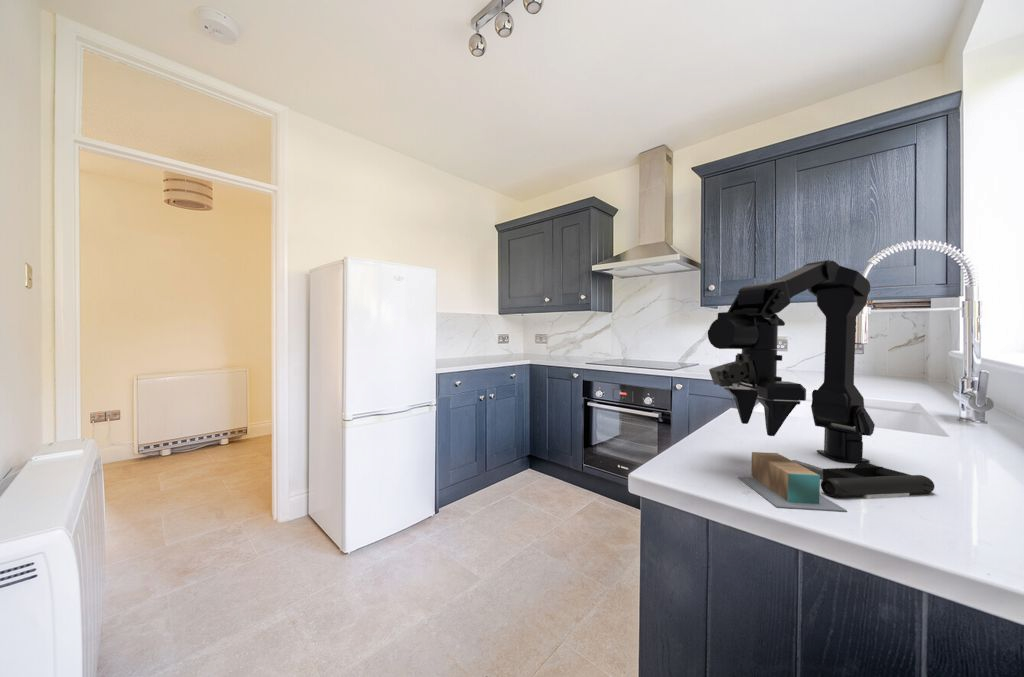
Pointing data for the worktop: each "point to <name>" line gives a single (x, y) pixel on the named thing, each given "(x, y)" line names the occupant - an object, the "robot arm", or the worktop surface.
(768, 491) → the mat
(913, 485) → the door handle
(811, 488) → the walnut block
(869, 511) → the worktop surface
